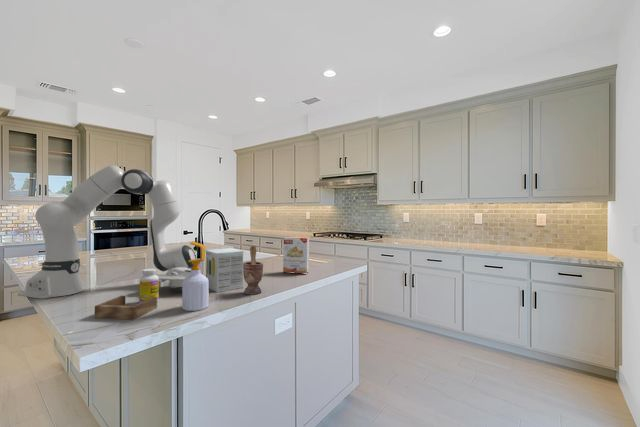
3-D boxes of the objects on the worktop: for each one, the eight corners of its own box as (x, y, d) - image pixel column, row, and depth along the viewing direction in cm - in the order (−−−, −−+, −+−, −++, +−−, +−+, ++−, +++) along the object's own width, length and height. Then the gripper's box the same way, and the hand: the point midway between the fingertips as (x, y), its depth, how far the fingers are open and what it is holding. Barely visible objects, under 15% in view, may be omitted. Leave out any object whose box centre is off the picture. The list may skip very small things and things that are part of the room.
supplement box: (204, 286, 147) (204, 249, 147) (230, 282, 156) (231, 247, 156) (216, 292, 137) (216, 253, 137) (243, 287, 146) (243, 250, 146)
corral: (94, 317, 105) (94, 306, 105) (121, 306, 117) (121, 295, 117) (133, 319, 103) (133, 307, 103) (156, 307, 116) (156, 297, 116)
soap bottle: (187, 304, 121) (187, 240, 120) (211, 303, 121) (211, 240, 121) (178, 311, 112) (178, 243, 111) (204, 311, 112) (204, 243, 112)
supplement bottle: (150, 305, 118) (150, 271, 118) (135, 304, 120) (135, 270, 120) (162, 300, 125) (162, 268, 125) (148, 299, 126) (148, 267, 126)
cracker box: (282, 273, 178) (283, 237, 178) (285, 271, 184) (286, 236, 184) (306, 274, 176) (307, 237, 175) (308, 272, 182) (309, 236, 181)
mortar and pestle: (238, 290, 142) (238, 246, 141) (256, 287, 146) (256, 245, 146) (246, 296, 132) (247, 249, 132) (265, 293, 137) (266, 248, 136)
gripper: (154, 270, 143) (134, 276, 129) (197, 271, 141) (181, 278, 127) (154, 283, 143) (133, 291, 129) (197, 285, 141) (181, 293, 127)
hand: (157, 285), depth 128 cm, fingers closed
